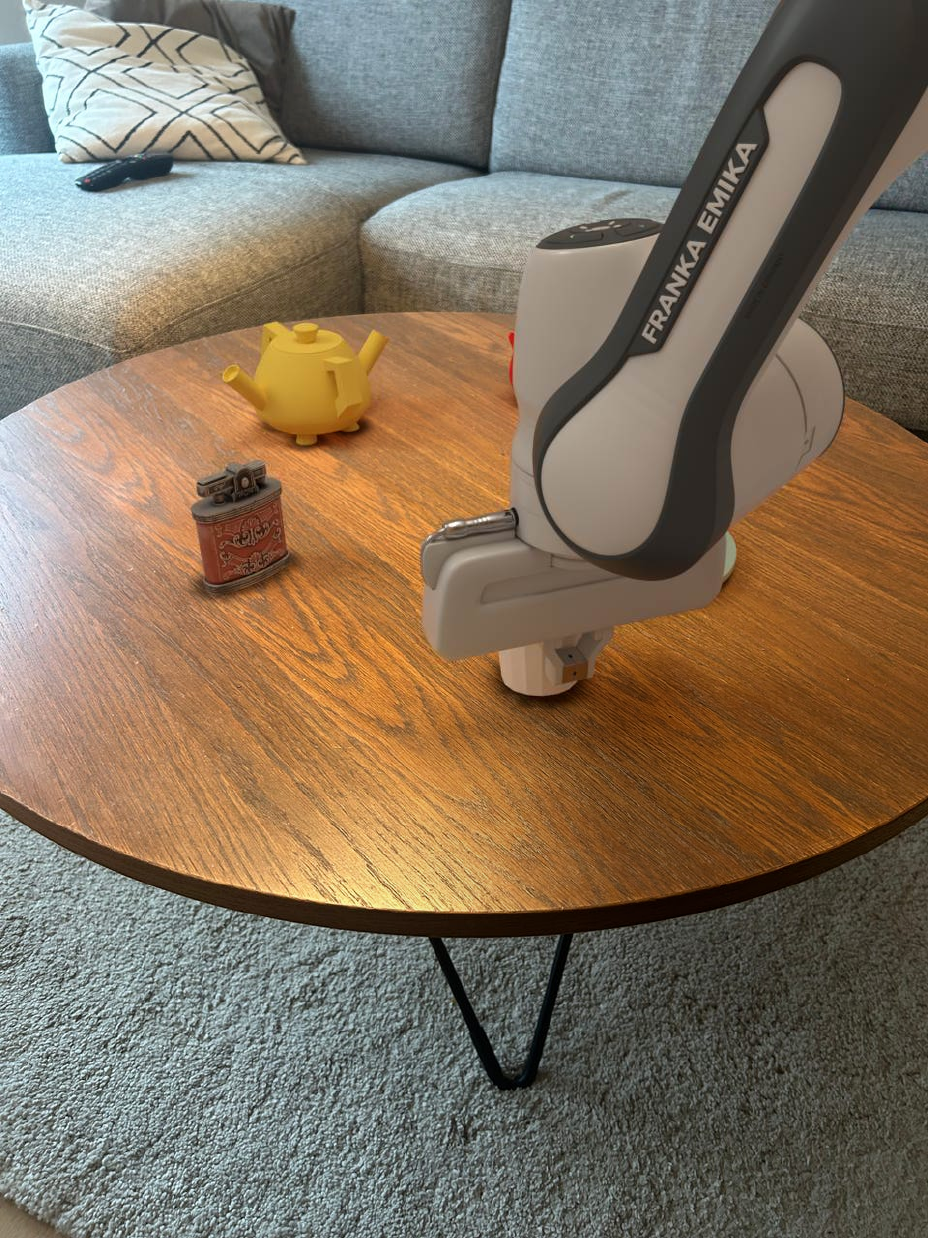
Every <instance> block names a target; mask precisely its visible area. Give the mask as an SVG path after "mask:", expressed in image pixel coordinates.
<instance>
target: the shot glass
mask: <svg viewBox="0 0 928 1238" xmlns="http://www.w3.org/2000/svg"><path fill="white" fill-rule="evenodd" d="M581 636H582V634H578V635H574V636H569V637H564V638H563V646H562V647H561V648H558V649H556V648H554V650H555V651H558V650H563V649H568V648H572V647H576V645H577V643H578V641H579V639H580V638H581ZM497 653H498V661H499V668H500V677H501V678H502V681H503V683H504V685H505V686H507V687H508V688H509V689H511V690H512V691H514V692H517V693H519V694H522V695H526V696H537V697H544V696H545V697H546V696H551V695H552V696H553V695H558V694H561V693H564V692H565V691H568V690H570V689H571V688H572V687H573V686H574V685H575V684H576V683H577V682H578V680H577V681H573V682H569V683H565V684H561V685H556V686H553V685H552V683H551V682H550V680H549V679H548V677H547V675H546V672H545V660H546V655H545V654H544V652H543V651H542V650H541V648H540V647H539V645H538V644H537V643H536V644H532V645H527V646H522V647H518V648H513V649H508V650H504V651H499V652H497Z"/></svg>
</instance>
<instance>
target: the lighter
mask: <svg viewBox="0 0 928 1238" xmlns="http://www.w3.org/2000/svg"><path fill="white" fill-rule="evenodd" d="M266 475H267V467H266V462H265V461H264V460H262V459H255V460H252V461H249V462H245V463H243V464H241V463H239V462H237V461H232V462H229V463H228V464H226V467H225V469H224V471H217V472H215V473H212V474H209V475H207V476H204V477H201V478H199V479H197V481H196V482H195V487H196V494H197V496H198V497H200V498H202V499H200V500H198V501H196V502H194V503H193V504H192V505H191V507H190V511H191V516H192V520H194V522H195V526H196V532H197V538H198V544H199V549H200V554H201V555H200V556H201V561H202V567H203V573H204V575H203V578H202V579H203V585H204V590H205V591H206V592H207V593H209V594H211V595H215V596H222V595H227V594H230V593H233V592H236V591H239V590H243V589H245V588H247V587H250V586H252V585H255V584H258V583H259V582H262V581H264V580H266V579H268V578H270V577H272V576H273V575H275V574H277V573H278V572H280V571H282V570H283V569H285V568H286V567H288V566H289V565H290V563H291V557H290V551H289V549H288V548H287V540H286V532H285V523H284V516H283V505H282V497H281V496H282V494H283V486H282V482H281V480H280V479H277V478H275V477H267V476H266Z"/></svg>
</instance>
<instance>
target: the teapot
mask: <svg viewBox="0 0 928 1238" xmlns="http://www.w3.org/2000/svg"><path fill="white" fill-rule="evenodd" d="M292 329H293V330H290V329H288V328H286V327H285V326H284V325H282V324H281V323H280V322H279V321H277V320H276V321H272V322H269V323H265V324H263V325H262V336H261V348H260V361H259V362H258V365H257V366H256V367H257V368H256V371H255V373H254V376H253V379H252V378H251V377H250V376H249V374H247V373H246V372H245V371H244V370H242V368H240V367H239V366H238V365H237V364H232V365H229V366H228V367H227V368H226V369H225V370H224V371H223V373H222V376H221V379H222V381H223V382H224V383H226V384H227V385H228V386H229V387H230V388H231V389H233V390H234V391H236V393H238V394H239V395H240V396H241V397H242V398H243V399H245V401H247V402H248V403H250V404H251V405H252V407H253V409H254V411H255V413H256V415H258V416H259V418H261V419H262V421H264V422H265V423H266V424H268V425H269V426H270V427H272V428H273V429H275V430H277V431H280V432H283V433H286V434H292V435H296V439H295V442H296V444H298V445H300V446H311V445H313V444H316V443H317V442H318V436H317V435H323V434H330V433H335V432H338V431H342V432H345V433H347V432H348V433H349V432H351V433H352V432H355V431H357V430H359V429H360V426H359V424H358V422H359V420H360V419H361V418H362V417H363V416H364V414H365V413H366V412H367V411H368V409H369V407H370V406H371V403H372V398H373V397H372V388H371V384H370V380H369V377H368V376H369V375H370V373H371V372H372V369H373V368H374V367H375V364H376V363H377V361H378V360H379V358H380V356H381V354H382V353H383V351H384V349H385V348H386V346H387V344H388V342H389V341H390V338H388V337H387V336H385V335H383V334H382V333H380V332H379V331H376V329H372V330H371V332H370V334H369V335H368V337H367V339H366V341H365V343H364V344H363V345H362V347H361V349H360V351H359V353H358V354H356V353H355V351H354V350H353V348H352V347H351V346H350V345H349V343H348V342H347V341H346V340H345V339H344V338H343V337H342V336H341V335H340V334H339V333H336V332H333V331H331V330H326V329H319V325H318V324H316V323H313V322H302V323H298V324H295V325H294V326H293V327H292Z"/></svg>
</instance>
